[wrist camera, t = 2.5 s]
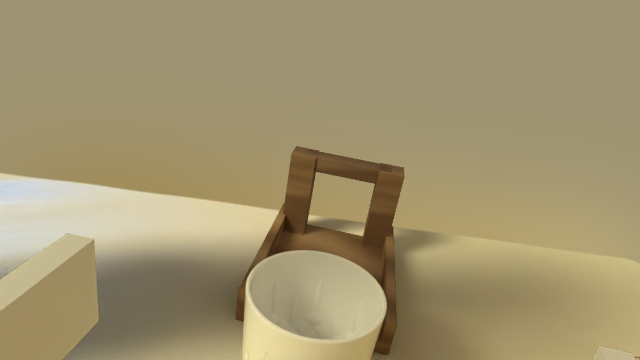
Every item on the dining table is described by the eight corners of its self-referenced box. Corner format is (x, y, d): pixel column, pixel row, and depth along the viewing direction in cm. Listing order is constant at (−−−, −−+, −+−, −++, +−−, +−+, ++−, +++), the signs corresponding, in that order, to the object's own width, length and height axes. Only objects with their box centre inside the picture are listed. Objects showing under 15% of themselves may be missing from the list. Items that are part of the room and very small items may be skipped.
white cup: (326, 503, 23) (362, 367, 19) (205, 436, 25) (215, 302, 21) (367, 394, 30) (400, 278, 26) (269, 349, 32) (286, 236, 28)
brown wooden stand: (387, 354, 34) (419, 247, 30) (235, 319, 34) (246, 210, 31) (387, 249, 48) (408, 168, 44) (280, 226, 49) (291, 145, 45)
